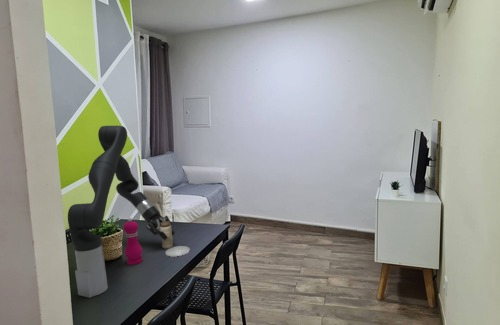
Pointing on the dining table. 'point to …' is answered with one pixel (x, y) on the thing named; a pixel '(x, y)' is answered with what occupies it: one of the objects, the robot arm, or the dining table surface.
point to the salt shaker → (167, 230)
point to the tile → (177, 251)
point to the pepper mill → (132, 243)
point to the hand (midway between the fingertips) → (169, 236)
